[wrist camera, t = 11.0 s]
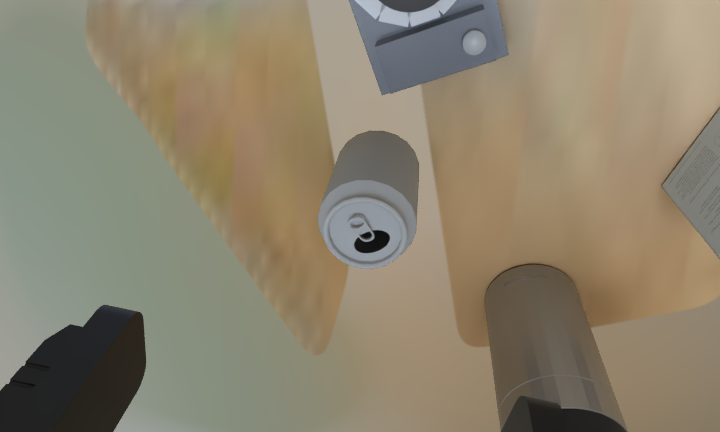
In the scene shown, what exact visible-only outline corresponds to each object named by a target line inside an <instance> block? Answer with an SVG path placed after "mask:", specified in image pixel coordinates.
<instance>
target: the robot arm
mask: <svg viewBox="0 0 720 432" xmlns="http://www.w3.org/2000/svg"><path fill="white" fill-rule="evenodd" d="M485 310H486V318H487V326H488V335H489V343H490V351H491V359H492V367H493V375H494V382H495V391H496V399H497V407H498V414H499V421H500V429H501V432H628V431H627V428H626V425H625V422H624V419H623V417H622V414H621V411H620V408H619V406H618V403H617V400H616V398H615V395H614V392H613V389H612V387H611V384H610V381H609V378H608V375H607V373H606V370H605V367H604V364H603V362H602V359H601V356H600V353H599V350H598V348H597V345H596V343H595V339H594V336H593V334H592V331H591V328H590V325H589V323H588V320H587V317H586V314H585V311H584V308H583V305H582V303H581V300H580V297H579V294H578V292H577V289H576V287H575V285H574V283H573V281H572V280H571V279H570V278H569V277H568V276H567V275H566V274H564V273H563V272H561V271H560V270H557V269H555V268H552V267H549V266H544V265H524V266H519V267H516V268H512V269H510V270H508V271H506V272H504V273H502V274H501V275H500V276H498V277H497V278H496V279H495V280H494V281H493V282H492V283H491V284H490V286H489V288H488V290H487V292H486V296H485ZM145 367H146V352H145V337H144V323H143V316H142V314H141V313H140V312H137V311H132V310H127V309H123V308H118V307H113V306H109V305H103V306H101V307H100V308H99V309H98V310H97V311H96V312H95V313H94V314H93V316H92V317H91V318H90V319H89V320H88V322H87V323H86V324H85V325H84V327H80V326H75V325H69V326H67V327H65V328H64V329H62V330H61V331H59V332H57V333H56V334H55V335H52V336H51V337H49V338H48V339H46V340H45V341H44V342H43V343H42V344H41V345H40V346H39V347H38V348H37V350H36V351H35V352H34V353H33V354H32V355H31V356H30V358H29V359H28V360H27V361H26V364H25V366H22V367H21V368H20V369H19V370H18V371H17V372H16V374H15V375H14V376H13V377H12V378H11V380H10V383H9V384H6V385H5V386H4V387H3V389H1V391H0V432H113V431H114V429H115V428H116V426H117V424H118V423H119V421H120V419H121V418H122V416H123V414H124V413H125V411H126V409H127V408H128V406H129V404H130V403H131V401H132V399H133V397H134V396H135V394H136V392H137V391H138V389H139V387H140V385H141V381H142V379H143V376H144V372H145Z"/></svg>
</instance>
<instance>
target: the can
mask: <svg viewBox="0 0 720 432" xmlns="http://www.w3.org/2000/svg"><path fill="white" fill-rule="evenodd" d="M418 182H419V162H418V160H417V157H416V154H415V152H414V150H413V149H412V148H411V147H410V145H409V144H408V143H407V142H406V141H404V140H403V139H402V138H400V137H398V136H397V135H395V134H392V133H388V132H385V131H368V132H365V133H362V134H358V135H356V136H355V137H354V138H352V139H351V140H349V141H348V142H347V143H346V144H345V146H344V147H343V149H342V150H341V151H340V154H339V156H338V159H337V162H336V165H335V167H334V170H333V173H332V176H331V178H330V181H329V184H328V187H327V189H326V192H325V195H324V198H323V200H322V203H321V207H320V210H319V214H318V223H319V230H320V232H321V234H322V236H323V239H324V241H325V243H326V245H327V247H328V249H329V250H330V251H331V252H332V254H333V255H334V256H335V257H336V258H337V259H339V260H341V261H342V262H344V263H346V264H347V265H350V266H354V267H357V268H368V269H374V268H378V267H382V266H386V265H387V264H389V263H391V262H393V261H394V260H396V258H397V257H398V256H399V255H401V254H403V253H404V251H405V250H406V249H407V248H408V247H409V246H410V245H411V243H412V240H413V238H414V236H415V233H416V222H417V201H418Z"/></svg>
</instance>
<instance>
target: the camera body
mask: <svg viewBox="0 0 720 432" xmlns="http://www.w3.org/2000/svg"><path fill="white" fill-rule="evenodd" d="M349 2H350V5H351V8H352V11H353V13H354V17H355V19H356V22H357V25H358V28H359V31H360V33H361V37H362V39H363V42H364V45H365V48H366V51H367V54H368V57H369V59H370V62H371V65H372V68H373V71H374V74H375V76H376V80H377V82H378V85H379V88H380V91H381V94H382V95H385V94H388V93H393V92H397V91H400V90H403V89H406V88H410V87H413V86H416V85H419V84H422V83H425V82H429V81H432V80H435V79H438V78H441V77H444V76H448V75H451V74H454V73H457V72H460V71H463V70H466V69H470V68H473V67H476V66H479V65H482V64H485V63H488V62H492V61H495V60H497V59H498V58H501V57H504V56H507V55H509V53H508V48H507V44H506V40H505V35H504V31H503V26H502V22H501V17H500V13H499V8H498V4H497V0H440V1H438V2H437V3H436V4H434V5H433V6H431V7H429V8H427V9H425V10H422V11H418V12H400V11H396V10H393V9H391V8H389V7H387V6H385V5H384V4H382V3H381V2H380V1H379V0H349Z"/></svg>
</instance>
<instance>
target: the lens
mask: <svg viewBox="0 0 720 432" xmlns="http://www.w3.org/2000/svg"><path fill="white" fill-rule="evenodd" d="M379 1H380V2H381V3H382V4H384V5H385V6H387V7H389V8H391V9H393V10H396V11H400V12H418V11H422V10H425V9H427V8H429V7H431V6H433V5H434V4H436V3H437V2H438V1H440V0H379Z"/></svg>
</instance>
